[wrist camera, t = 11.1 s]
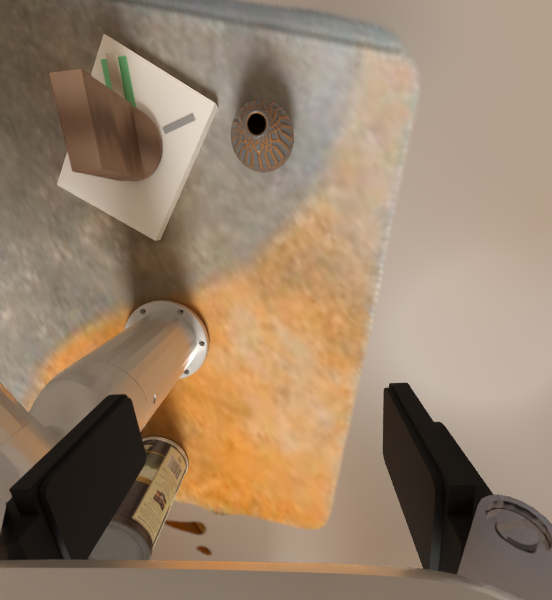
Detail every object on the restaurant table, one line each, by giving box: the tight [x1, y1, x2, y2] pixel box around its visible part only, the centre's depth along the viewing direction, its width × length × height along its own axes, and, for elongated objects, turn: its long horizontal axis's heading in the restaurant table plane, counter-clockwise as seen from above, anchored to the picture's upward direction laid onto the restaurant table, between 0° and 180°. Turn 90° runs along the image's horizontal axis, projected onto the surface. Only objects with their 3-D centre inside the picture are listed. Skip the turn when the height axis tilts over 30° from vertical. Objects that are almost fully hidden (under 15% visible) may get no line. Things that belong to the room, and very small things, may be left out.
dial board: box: [57, 34, 218, 241], centre depth 36 cm, size 18×14×2 cm
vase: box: [231, 99, 294, 172], centre depth 31 cm, size 7×7×9 cm
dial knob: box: [49, 52, 162, 181], centre depth 30 cm, size 13×8×9 cm, turn 4°
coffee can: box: [87, 436, 188, 560], centre depth 44 cm, size 10×10×14 cm
